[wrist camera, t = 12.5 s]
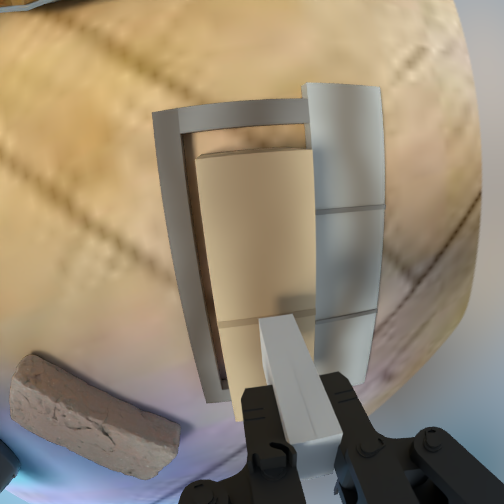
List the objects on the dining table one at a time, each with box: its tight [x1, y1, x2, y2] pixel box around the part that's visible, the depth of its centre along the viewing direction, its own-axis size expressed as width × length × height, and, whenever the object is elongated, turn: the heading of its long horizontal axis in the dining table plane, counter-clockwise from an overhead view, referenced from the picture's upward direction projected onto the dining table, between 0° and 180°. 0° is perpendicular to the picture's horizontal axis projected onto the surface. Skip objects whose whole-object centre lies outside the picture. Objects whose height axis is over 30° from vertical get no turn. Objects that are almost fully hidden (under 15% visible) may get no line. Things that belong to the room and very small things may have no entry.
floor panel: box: [152, 83, 386, 403], centre depth 20 cm, size 14×24×1 cm, turn 5°
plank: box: [195, 147, 316, 422], centre depth 18 cm, size 5×16×6 cm, turn 5°
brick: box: [9, 355, 181, 480], centre depth 22 cm, size 17×8×5 cm, turn 56°
